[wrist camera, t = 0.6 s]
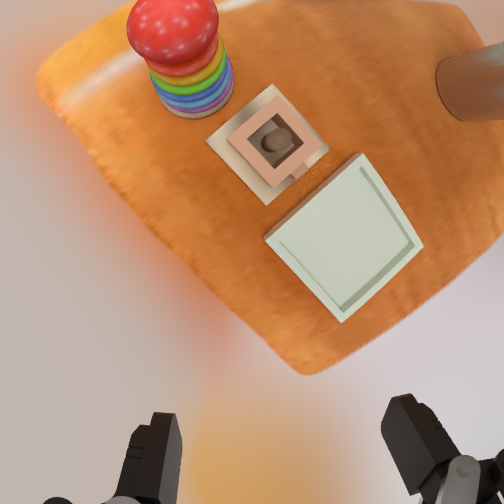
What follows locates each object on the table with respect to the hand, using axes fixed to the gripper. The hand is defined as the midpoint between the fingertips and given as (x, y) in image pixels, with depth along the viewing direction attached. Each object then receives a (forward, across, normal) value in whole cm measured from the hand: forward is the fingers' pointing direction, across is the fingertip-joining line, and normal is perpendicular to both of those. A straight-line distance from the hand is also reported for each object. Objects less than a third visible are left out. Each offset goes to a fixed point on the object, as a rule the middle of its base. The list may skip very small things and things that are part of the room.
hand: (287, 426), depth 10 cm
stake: (+25, -2, -10) cm, 27 cm away
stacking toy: (+25, +6, -17) cm, 31 cm away
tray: (+25, -11, 0) cm, 27 cm away
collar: (+24, -2, -10) cm, 26 cm away
